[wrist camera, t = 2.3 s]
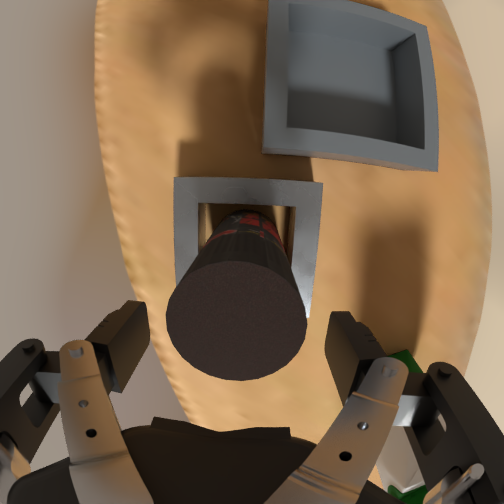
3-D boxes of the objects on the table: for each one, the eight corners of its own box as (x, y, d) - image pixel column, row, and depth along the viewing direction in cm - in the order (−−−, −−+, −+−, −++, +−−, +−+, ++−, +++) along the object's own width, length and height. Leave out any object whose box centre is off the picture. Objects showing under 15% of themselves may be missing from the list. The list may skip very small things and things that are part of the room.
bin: (266, 22, 19) (269, -11, 14) (398, 47, 19) (426, 26, 14) (261, 153, 23) (263, 147, 18) (403, 170, 23) (437, 171, 18)
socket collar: (184, 176, 24) (173, 177, 21) (313, 181, 24) (322, 183, 21) (186, 295, 27) (178, 311, 24) (302, 300, 27) (308, 317, 24)
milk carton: (348, 361, 29) (406, 508, 10) (414, 340, 29) (498, 456, 10) (349, 406, 32) (388, 529, 13) (407, 387, 31) (464, 493, 12)
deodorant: (280, 269, 26) (305, 376, 12) (218, 273, 26) (180, 380, 12) (277, 206, 25) (307, 255, 10) (211, 211, 25) (153, 265, 10)
